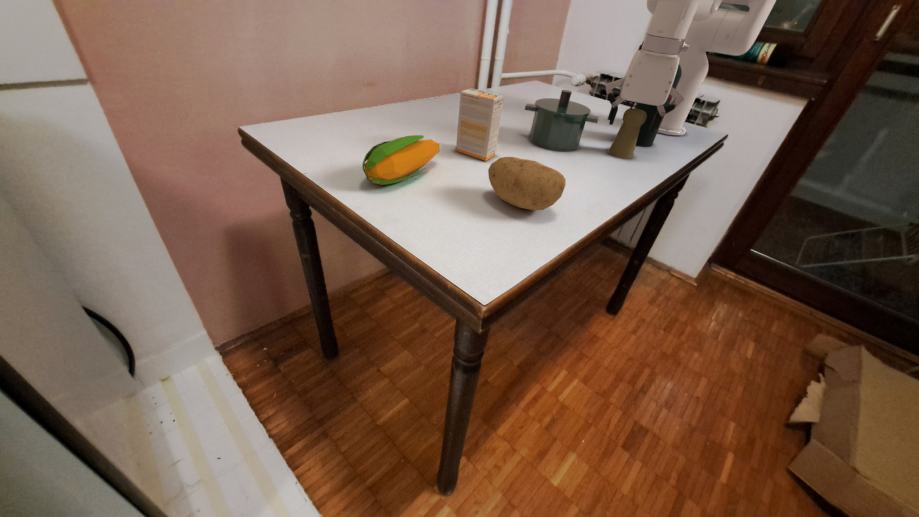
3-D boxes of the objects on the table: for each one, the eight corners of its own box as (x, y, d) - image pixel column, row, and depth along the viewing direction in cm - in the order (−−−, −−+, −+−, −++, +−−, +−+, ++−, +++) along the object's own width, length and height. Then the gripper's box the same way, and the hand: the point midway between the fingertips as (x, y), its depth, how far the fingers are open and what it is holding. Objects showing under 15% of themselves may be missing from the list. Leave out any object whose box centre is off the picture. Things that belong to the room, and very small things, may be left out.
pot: (524, 128, 102) (530, 96, 97) (589, 141, 98) (599, 108, 93) (515, 142, 92) (522, 107, 87) (587, 157, 89) (598, 122, 83)
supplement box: (495, 155, 84) (505, 95, 76) (485, 161, 80) (494, 99, 72) (465, 145, 87) (472, 87, 79) (454, 151, 84) (460, 90, 76)
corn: (349, 142, 62) (425, 119, 75) (351, 182, 66) (421, 153, 80) (381, 159, 59) (453, 131, 72) (380, 199, 64) (448, 166, 77)
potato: (499, 183, 73) (506, 144, 68) (565, 208, 67) (578, 167, 62) (473, 200, 66) (478, 158, 61) (543, 229, 60) (555, 186, 55)
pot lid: (538, 99, 97) (542, 81, 94) (590, 109, 94) (596, 90, 91) (530, 112, 86) (534, 91, 84) (588, 123, 84) (594, 102, 81)
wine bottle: (620, 132, 107) (665, 10, 89) (655, 142, 103) (710, 16, 84) (611, 137, 102) (656, 9, 84) (647, 149, 98) (704, 16, 79)
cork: (634, 160, 90) (653, 114, 83) (609, 156, 91) (626, 110, 84) (630, 151, 95) (647, 108, 88) (606, 148, 95) (622, 104, 89)
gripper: (701, 51, 79) (665, 130, 90) (619, 39, 83) (594, 116, 93) (708, 55, 73) (670, 139, 84) (620, 42, 77) (593, 124, 87)
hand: (630, 127), depth 88 cm, fingers open, 9 cm apart
